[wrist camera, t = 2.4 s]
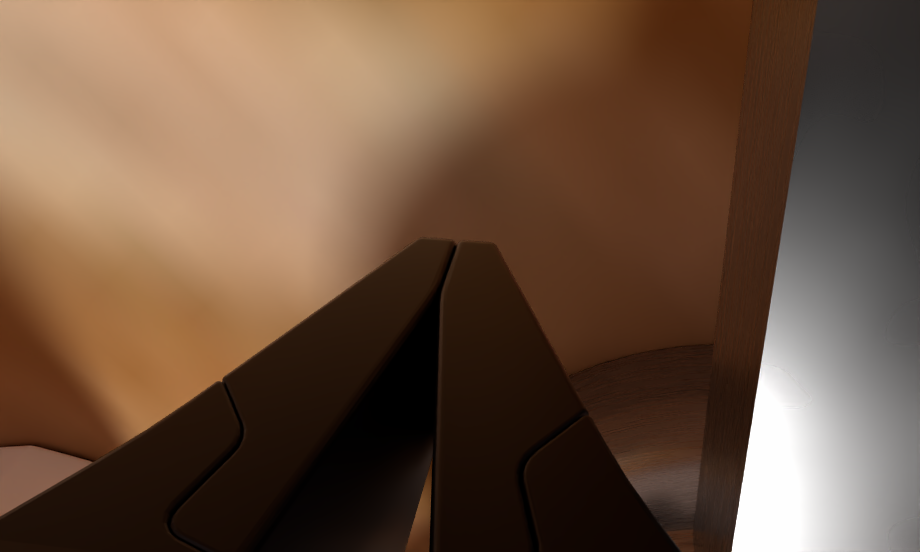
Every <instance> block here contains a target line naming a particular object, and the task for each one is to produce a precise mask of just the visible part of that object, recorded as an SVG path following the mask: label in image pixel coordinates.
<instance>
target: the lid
mask: <svg viewBox="0 0 920 552" xmlns="http://www.w3.org/2000/svg"><path fill="white" fill-rule="evenodd" d="M667 533H668V535H669V536H670V537H671V539H672V540H673V541H674V543H675V544H676V545H677V546H678V548H679V549H680V550H681V552H920V0H753V7H752V16H751V25H750V33H749V42H748V51H747V60H746V68H745V77H744V86H743V95H742V103H741V112H740V121H739V130H738V139H737V147H736V156H735V165H734V174H733V182H732V191H731V200H730V209H729V217H728V226H727V235H726V244H725V253H724V261H723V270H722V279H721V288H720V296H719V305H718V314H717V323H716V331H715V340H714V349H713V358H712V367H711V375H710V384H709V393H708V402H707V410H706V419H705V428H704V437H703V445H702V454H701V463H700V472H699V481H698V489H697V498H696V507H695V516H694V524H693V529H692V530H680V531H667Z"/></svg>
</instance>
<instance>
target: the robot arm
mask: <svg viewBox="0 0 920 552" xmlns="http://www.w3.org/2000/svg"><path fill="white" fill-rule="evenodd" d="M432 456H433V461H432V490H431V519H430V548H429V552H681V550H680V549H679V548H678V546H677V545H676V544H675V543H674V541H673V540H672V539H671V537H670V536H669V535H668V533H667V532H666V531H665V529H664V528H663V527H662V526H661V524H660V523H659V522H658V520H657V519H656V518H655V516H654V515H653V513H652V512H651V511H650V509H649V508H648V506H647V505H646V504H645V502H644V501H643V499H642V498H641V497H640V495H639V494H638V493H637V491H636V490H635V488H634V487H633V486H632V484H631V483H630V481H629V480H628V479H627V477H626V475H625V474H624V472H623V470H622V469H621V467H620V465H619V464H618V462H617V460H616V459H615V457H614V456H613V454H612V452H611V451H610V449H609V447H608V446H607V444H606V442H605V441H604V439H603V437H602V435H601V433H600V432H599V430H598V428H597V426H596V424H595V422H594V421H593V419H592V417H590V416H589V413H588V411H587V409H586V407H585V405H584V403H583V401H582V400H581V398H580V396H579V394H578V392H577V391H576V389H575V387H574V385H573V383H572V382H571V380H570V378H569V376H568V374H567V372H566V371H565V369H564V367H563V365H562V363H561V362H560V360H559V358H558V356H557V354H556V353H555V351H554V349H553V347H552V345H551V343H550V342H549V340H548V338H547V336H546V334H545V333H544V331H543V329H542V327H541V325H540V324H539V322H538V320H537V318H536V316H535V314H534V313H533V311H532V309H531V307H530V305H529V304H528V302H527V300H526V298H525V296H524V295H523V293H522V291H521V289H520V287H519V286H518V284H517V282H516V280H515V278H514V276H513V275H512V273H511V271H510V269H509V267H508V266H507V264H506V262H505V260H504V258H503V257H502V255H501V253H500V251H499V249H498V248H497V246H496V245H495V244H494V243H491V242H479V241H465V240H464V241H460V242H459V243H458V244H457V245H456V243H455V242H454V241H453V240H450V239H437V238H419V239H417V240H415V241H414V242H413V243H411V244H410V245H408V246H407V247H406V248H404V249H403V250H401V251H400V252H399V253H397V254H396V255H394V256H393V257H392V258H390V259H389V260H387V261H386V262H384V263H383V264H382V265H380V266H379V267H377V268H376V269H375V270H373V271H372V272H370V273H369V274H368V275H366V276H365V277H363V278H362V279H361V280H359V281H358V282H356V283H355V284H354V285H352V286H351V287H349V288H348V289H347V290H345V291H344V292H342V293H341V294H340V295H338V296H337V297H335V298H334V299H332V300H331V301H330V302H328V303H327V304H325V305H324V306H323V307H321V308H320V309H318V310H317V311H316V312H314V313H313V314H311V315H310V316H309V317H307V318H306V319H304V320H303V321H302V322H300V323H299V324H297V325H296V326H295V327H293V328H292V329H290V330H289V331H288V332H286V333H285V334H283V335H282V336H280V337H279V338H278V339H276V340H275V341H273V342H272V343H271V344H269V345H268V346H266V347H265V348H264V349H262V350H261V351H259V352H258V353H257V354H255V355H254V356H252V357H251V358H250V359H248V360H247V361H245V362H244V363H243V364H241V365H240V366H238V367H237V368H235V369H234V370H233V371H231V372H230V373H228V374H227V375H226V376H224V377H223V380H222V382H221V381H217V382H215V383H214V384H213V385H211V386H210V387H208V388H207V389H206V390H204V391H203V392H201V393H200V394H198V395H197V396H196V397H194V398H193V399H191V400H190V401H189V402H187V403H186V404H184V405H183V406H181V407H180V408H178V409H177V410H175V411H174V412H172V413H171V414H169V415H168V416H166V417H165V418H163V419H162V420H160V421H159V422H157V423H156V424H154V425H153V426H151V427H150V428H148V429H147V430H145V431H144V432H142V433H140V434H139V435H137V436H135V437H134V438H132V439H130V440H129V441H127V442H126V443H124V444H122V445H121V446H119V447H117V448H116V449H114V450H112V451H111V452H109V453H108V454H106V455H104V456H103V457H101V458H99V459H98V460H96V461H94V462H93V463H91V464H89V465H87V466H86V467H84V468H82V469H81V470H79V471H77V472H75V473H74V474H72V475H70V476H69V477H67V478H65V479H63V480H62V481H60V482H58V483H57V484H55V485H53V486H51V487H50V488H48V489H46V490H45V491H43V492H41V493H39V494H38V495H36V496H34V497H33V498H31V499H29V500H27V501H26V502H24V503H22V504H21V505H19V506H17V507H15V508H14V509H12V510H10V511H9V512H7V513H5V514H3V515H2V516H0V552H405V549H406V545H407V542H408V538H409V535H410V531H411V528H412V525H413V521H414V518H415V514H416V511H417V508H418V504H419V501H420V497H421V494H422V491H423V487H424V484H425V480H426V477H427V474H428V470H429V467H430V463H431V460H432Z"/></svg>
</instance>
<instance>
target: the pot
mask: <svg viewBox="0 0 920 552" xmlns="http://www.w3.org/2000/svg"><path fill="white" fill-rule="evenodd" d="M713 349H714V345H700V346H685V347H675V348H669V349H663V350H657V351H651V352H645V353H640V354H635V355H632V356H628V357H624V358H621V359H617V360H613V361H610V362H606V363H603V364H599V365H597V366H594V367H592V368H589V369H587V370H584V371H582V372H579V373H577V374H574V375H572V376H569V378H570V380H571V382H572V383H573V385H574V387H575V389H576V391H577V392H578V394H579V396H580V398H581V400H582V401H583V403H584V405H585V407H586V409H587V411H588V413H589V416H590V417H592V419H593V421H594V422H595V424H596V426H597V428H598V430H599V432H600V433H601V435H602V437H603V439H604V441H605V442H606V444H607V446H608V447H609V449H610V451H611V452H612V454H613V456H614V457H615V459H616V460H617V462H618V464H619V465H620V467H621V469H622V470H623V472H624V474H625V475H626V477H627V479H628V480H629V481H630V483H631V484H632V486H633V487H634V488H635V490H636V491H637V493H638V494H639V495H640V497H641V498H642V499H643V501H644V502H645V504H646V505H647V506H648V508H649V509H650V511H651V512H652V513H653V515H654V516H655V518H656V519H657V520H658V522H659V523H660V524H661V526H662V527H663V528H664V529H665V531H666V532H667V531H680V530H692V529H693V524H694V516H695V507H696V498H697V489H698V481H699V472H700V463H701V454H702V445H703V437H704V428H705V419H706V410H707V402H708V393H709V384H710V375H711V367H712V358H713Z"/></svg>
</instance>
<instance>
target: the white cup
mask: <svg viewBox="0 0 920 552" xmlns="http://www.w3.org/2000/svg"><path fill="white" fill-rule="evenodd" d="M91 463H93V462H91V461H88V460H85V459H81V458H78V457H74V456H70V455H67V454H63V453H59V452H56V451H52V450H48V449H44V448H40V447H37V446H31V445H28V446H12V447H0V516H2V515H3V514H5V513H7V512H9V511H10V510H12V509H14V508H15V507H17V506H19V505H21V504H22V503H24V502H26V501H27V500H29V499H31V498H33V497H34V496H36V495H38V494H39V493H41V492H43V491H45V490H46V489H48V488H50V487H51V486H53V485H55V484H57V483H58V482H60V481H62V480H63V479H65V478H67V477H69V476H70V475H72V474H74V473H75V472H77V471H79V470H81V469H82V468H84V467H86V466H87V465H89V464H91Z"/></svg>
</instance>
